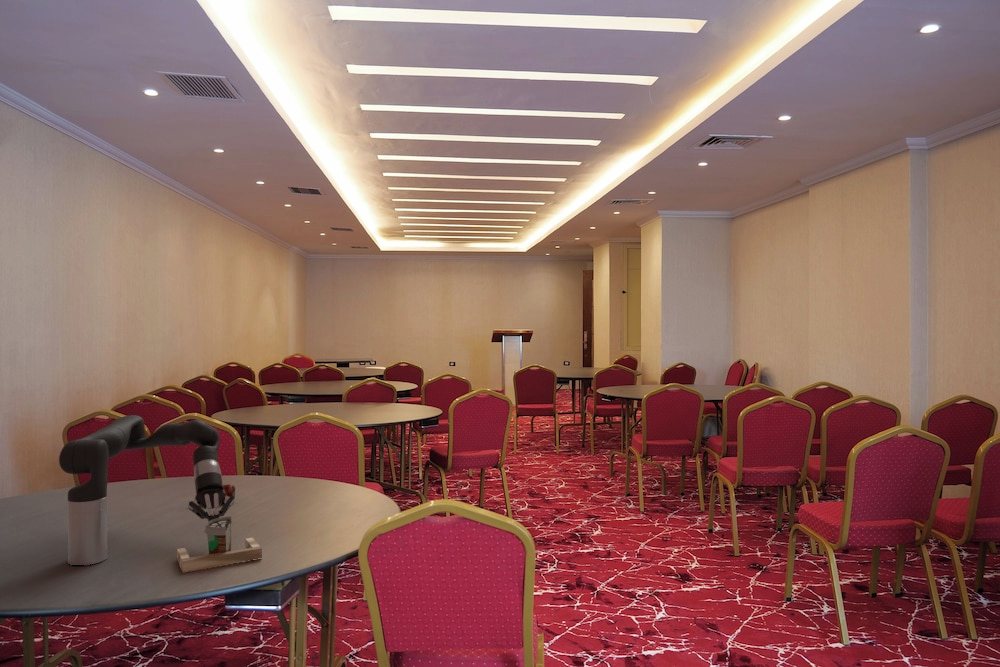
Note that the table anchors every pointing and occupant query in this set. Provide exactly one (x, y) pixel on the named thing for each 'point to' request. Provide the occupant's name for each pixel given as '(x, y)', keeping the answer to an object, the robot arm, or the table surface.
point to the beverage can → (229, 490)
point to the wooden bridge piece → (219, 557)
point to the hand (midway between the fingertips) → (214, 528)
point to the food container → (219, 535)
